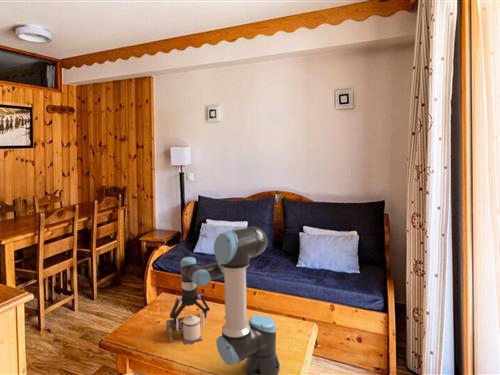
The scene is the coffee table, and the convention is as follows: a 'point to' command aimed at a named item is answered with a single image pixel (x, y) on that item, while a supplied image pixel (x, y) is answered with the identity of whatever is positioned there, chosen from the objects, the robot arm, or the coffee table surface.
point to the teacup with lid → (191, 327)
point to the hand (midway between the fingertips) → (190, 326)
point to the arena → (172, 327)
